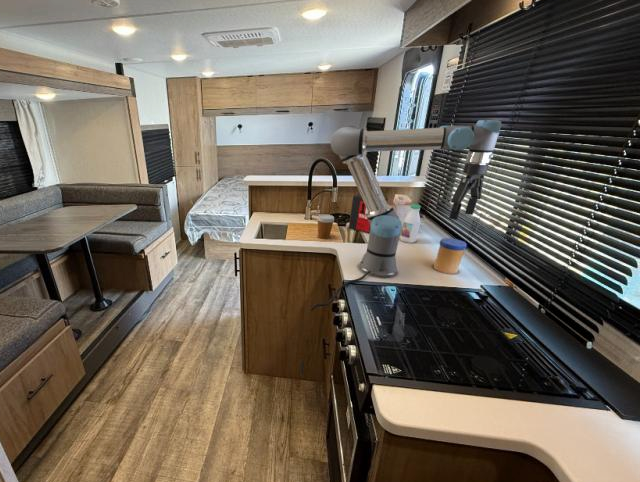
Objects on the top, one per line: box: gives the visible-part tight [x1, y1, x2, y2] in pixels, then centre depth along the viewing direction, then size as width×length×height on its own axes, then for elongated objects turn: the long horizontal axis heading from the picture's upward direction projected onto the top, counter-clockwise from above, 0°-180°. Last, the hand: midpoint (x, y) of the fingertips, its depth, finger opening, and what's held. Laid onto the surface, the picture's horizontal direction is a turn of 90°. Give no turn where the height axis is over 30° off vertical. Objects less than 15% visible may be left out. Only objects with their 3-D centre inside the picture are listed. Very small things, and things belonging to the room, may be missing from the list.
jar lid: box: [439, 237, 468, 251], centre depth 132 cm, size 10×10×2 cm
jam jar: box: [433, 244, 465, 275], centre depth 134 cm, size 9×9×13 cm
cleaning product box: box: [348, 193, 389, 235], centre depth 181 cm, size 16×9×20 cm, turn 44°
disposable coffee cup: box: [316, 213, 335, 240], centre depth 172 cm, size 10×10×12 cm
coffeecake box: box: [392, 193, 413, 234], centre depth 183 cm, size 15×7×20 cm, turn 163°
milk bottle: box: [399, 203, 422, 244], centre depth 165 cm, size 8×8×20 cm
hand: (461, 216), depth 127 cm, fingers open, 12 cm apart
